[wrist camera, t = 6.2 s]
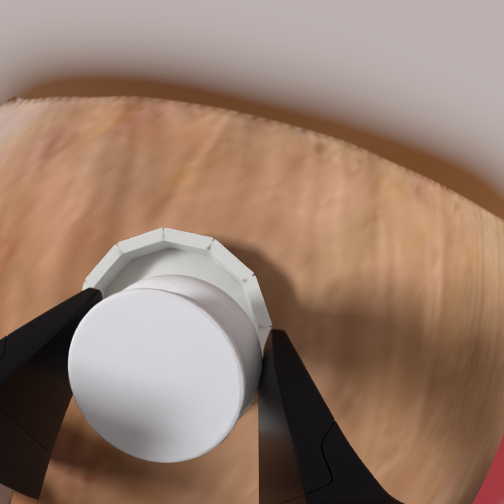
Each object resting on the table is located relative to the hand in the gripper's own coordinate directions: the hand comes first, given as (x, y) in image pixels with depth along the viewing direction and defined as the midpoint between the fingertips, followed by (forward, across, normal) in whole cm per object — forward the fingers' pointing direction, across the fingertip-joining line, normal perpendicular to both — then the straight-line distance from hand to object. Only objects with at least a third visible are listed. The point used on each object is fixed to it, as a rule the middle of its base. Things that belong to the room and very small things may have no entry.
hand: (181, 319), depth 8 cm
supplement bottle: (+4, 0, +6) cm, 7 cm away
